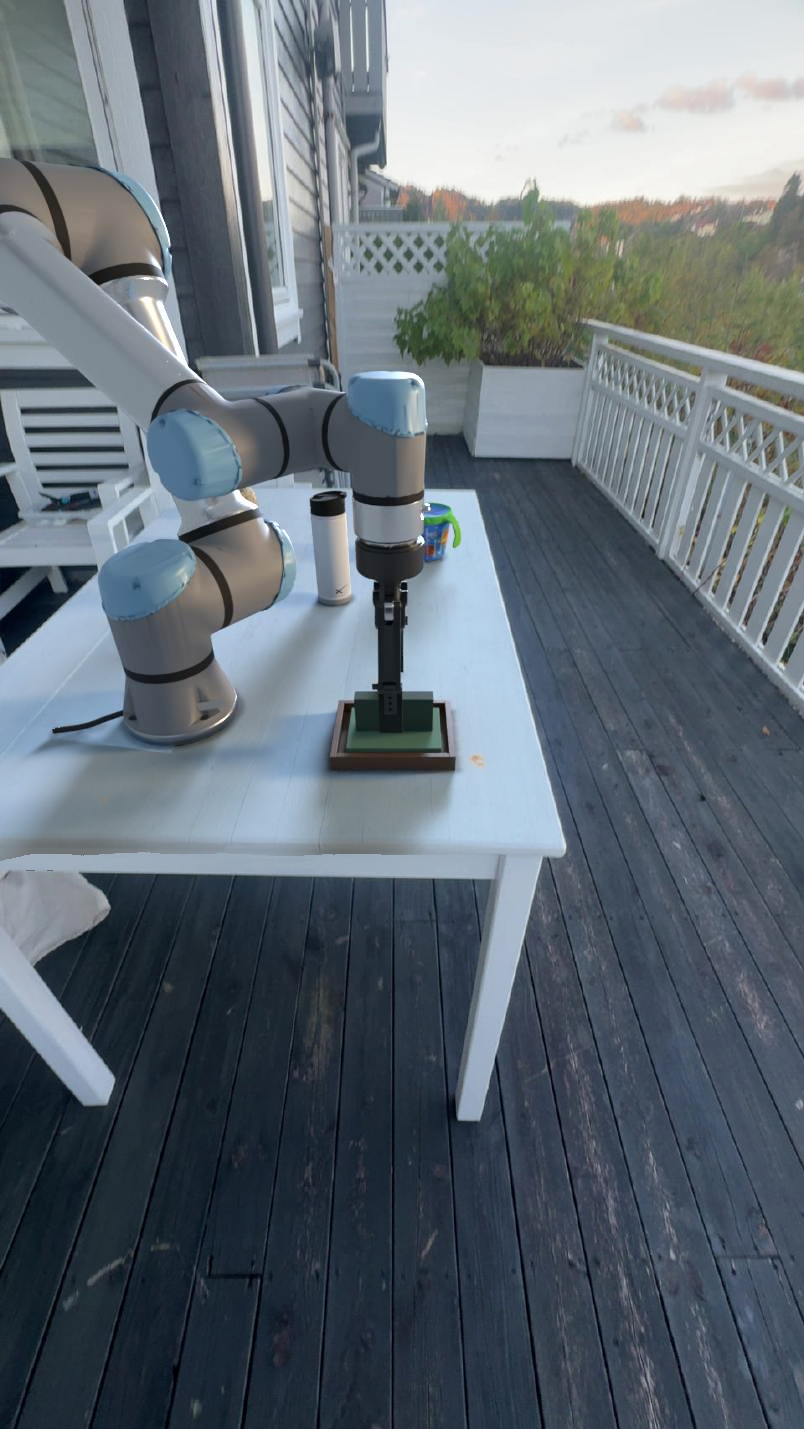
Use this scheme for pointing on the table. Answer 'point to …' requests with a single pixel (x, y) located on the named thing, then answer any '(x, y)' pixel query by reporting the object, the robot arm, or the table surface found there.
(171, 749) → the table surface
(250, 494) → the sponge
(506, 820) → the table surface
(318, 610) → the table surface
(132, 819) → the table surface
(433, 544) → the snack cup
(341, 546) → the travel mug
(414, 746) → the back pad
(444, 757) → the back frame
